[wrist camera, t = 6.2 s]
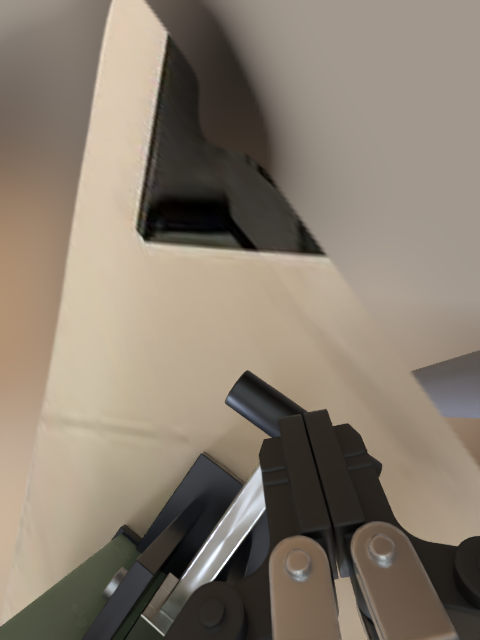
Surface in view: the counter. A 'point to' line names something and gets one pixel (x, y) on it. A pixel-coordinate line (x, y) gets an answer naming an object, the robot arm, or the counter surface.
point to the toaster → (79, 596)
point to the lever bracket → (181, 543)
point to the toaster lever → (237, 521)
